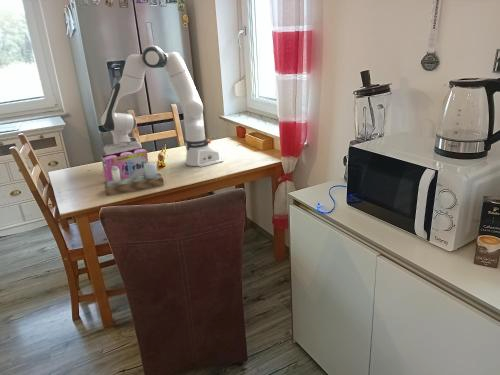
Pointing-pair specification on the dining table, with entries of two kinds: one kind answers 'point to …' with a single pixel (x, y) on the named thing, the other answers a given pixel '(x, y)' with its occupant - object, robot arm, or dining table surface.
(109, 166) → the gum box
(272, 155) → the dining table surface
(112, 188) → the podium
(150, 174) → the white short cylinder
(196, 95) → the robot arm
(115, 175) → the shaker
